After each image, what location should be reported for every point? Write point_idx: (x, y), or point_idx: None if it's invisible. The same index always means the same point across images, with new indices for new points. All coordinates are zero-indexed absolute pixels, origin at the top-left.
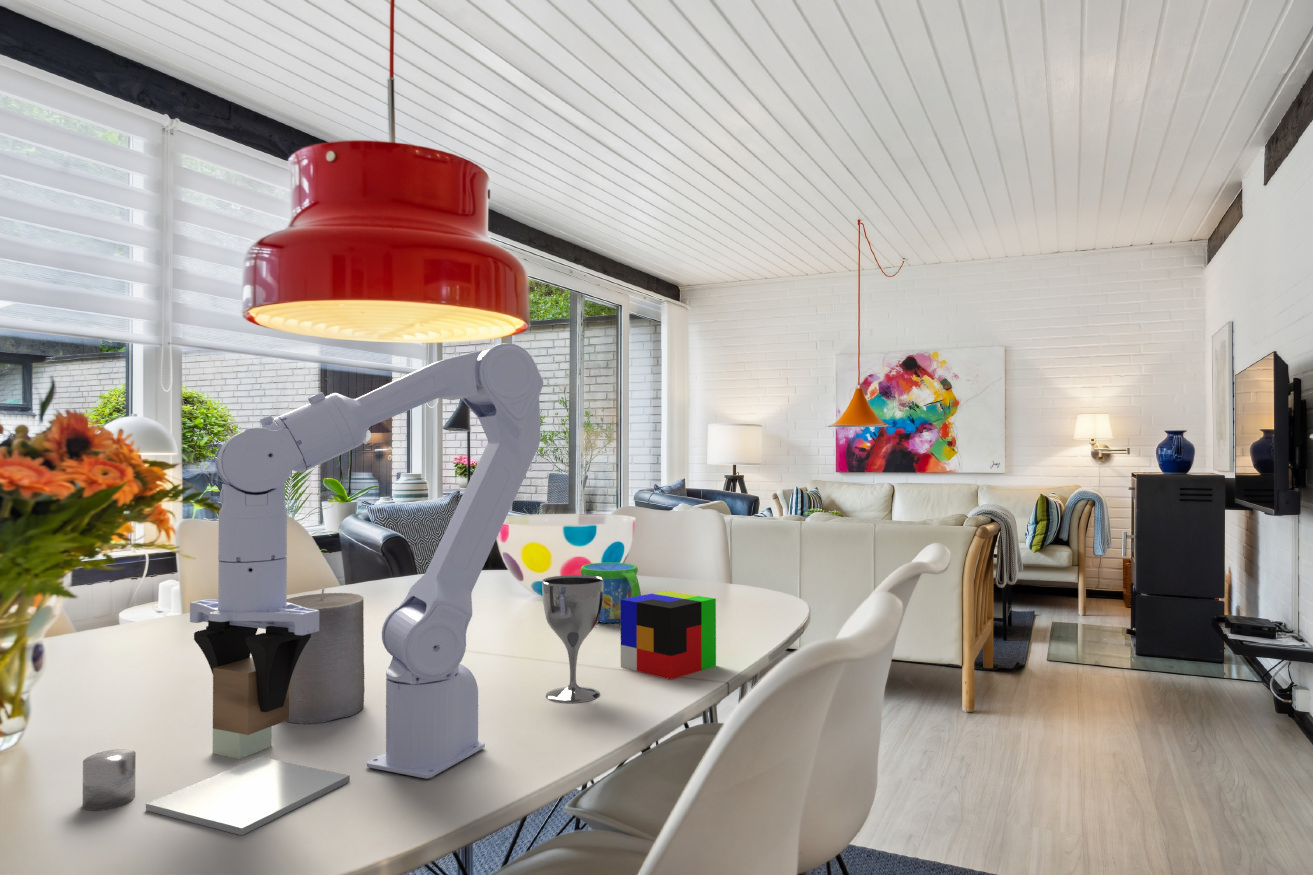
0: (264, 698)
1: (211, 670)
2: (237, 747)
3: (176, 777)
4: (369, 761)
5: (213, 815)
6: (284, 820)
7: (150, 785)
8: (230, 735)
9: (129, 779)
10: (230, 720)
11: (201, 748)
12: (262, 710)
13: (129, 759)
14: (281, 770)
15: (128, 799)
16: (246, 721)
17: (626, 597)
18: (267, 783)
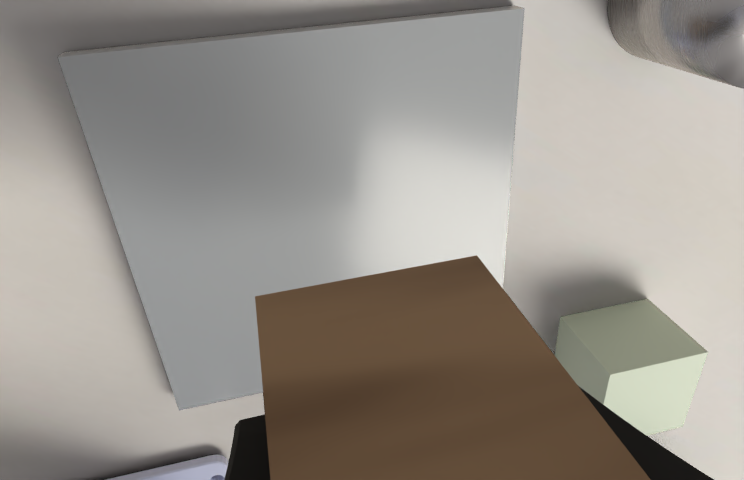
0: (225, 477)
1: (694, 468)
2: (581, 332)
3: (616, 178)
4: (221, 468)
5: (245, 66)
6: (71, 184)
7: (641, 114)
8: (623, 346)
9: (653, 26)
10: (381, 305)
11: (692, 297)
12: (257, 419)
13: (703, 37)
14: None
15: (613, 14)
16: (270, 333)
17: None
18: (325, 273)
